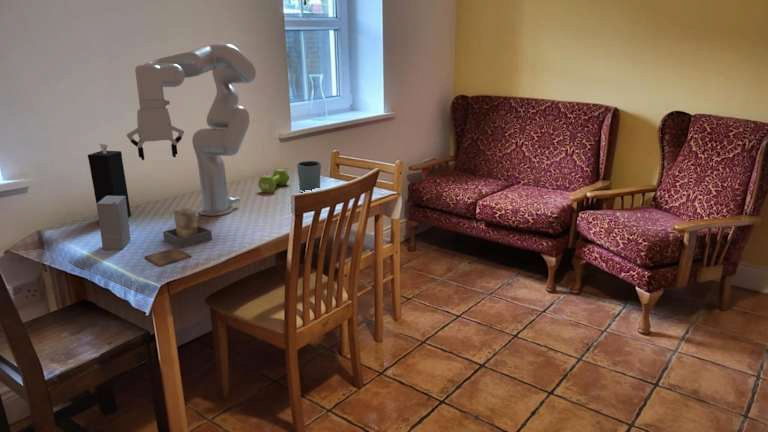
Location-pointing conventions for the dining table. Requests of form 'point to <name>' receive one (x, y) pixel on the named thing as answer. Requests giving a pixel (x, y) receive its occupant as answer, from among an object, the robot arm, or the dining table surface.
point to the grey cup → (309, 175)
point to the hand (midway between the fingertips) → (158, 158)
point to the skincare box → (113, 222)
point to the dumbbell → (273, 180)
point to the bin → (187, 241)
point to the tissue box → (108, 175)
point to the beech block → (185, 222)
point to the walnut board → (167, 256)
